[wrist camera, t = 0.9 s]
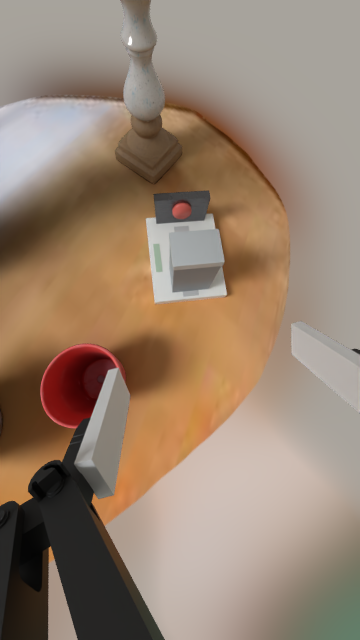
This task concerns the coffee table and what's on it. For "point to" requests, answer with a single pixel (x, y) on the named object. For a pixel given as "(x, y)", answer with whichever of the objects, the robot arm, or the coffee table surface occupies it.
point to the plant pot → (0, 422)
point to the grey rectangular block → (194, 259)
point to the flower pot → (76, 382)
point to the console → (170, 217)
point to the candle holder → (144, 100)
